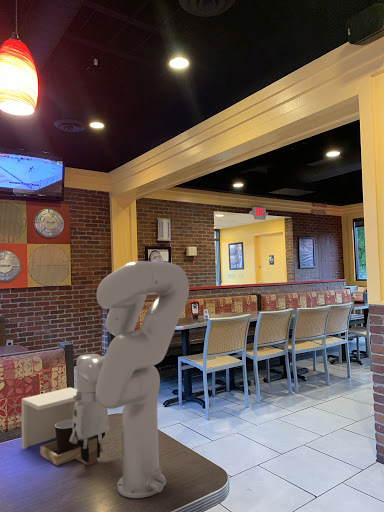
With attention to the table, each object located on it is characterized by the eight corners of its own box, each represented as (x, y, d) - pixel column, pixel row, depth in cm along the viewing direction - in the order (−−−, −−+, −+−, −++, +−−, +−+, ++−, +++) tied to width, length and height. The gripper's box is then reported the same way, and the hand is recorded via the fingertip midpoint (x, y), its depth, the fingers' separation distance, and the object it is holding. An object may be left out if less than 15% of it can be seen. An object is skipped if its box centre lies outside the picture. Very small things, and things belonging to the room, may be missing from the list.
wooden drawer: (114, 455, 116) (114, 431, 117) (69, 473, 105) (69, 447, 106) (82, 439, 130) (82, 418, 131) (39, 454, 119) (39, 431, 120)
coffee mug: (65, 464, 112) (65, 430, 113) (49, 457, 117) (49, 425, 118) (96, 450, 121) (96, 418, 122) (80, 444, 126) (80, 414, 127)
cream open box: (90, 441, 129) (89, 393, 131) (39, 459, 116) (38, 406, 118) (71, 431, 139) (70, 387, 140) (21, 447, 126) (21, 398, 127)
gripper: (70, 404, 105) (71, 472, 103) (119, 391, 117) (120, 452, 115) (58, 400, 110) (59, 464, 109) (106, 388, 122) (107, 446, 120)
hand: (90, 457), depth 112 cm, fingers closed on wooden drawer, 3 cm apart
